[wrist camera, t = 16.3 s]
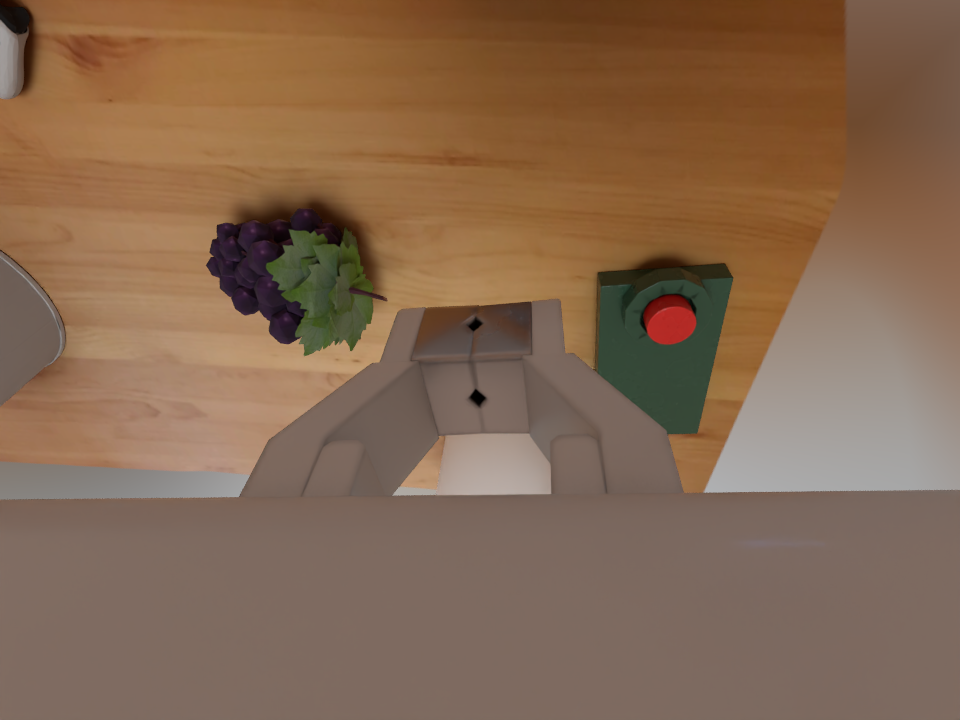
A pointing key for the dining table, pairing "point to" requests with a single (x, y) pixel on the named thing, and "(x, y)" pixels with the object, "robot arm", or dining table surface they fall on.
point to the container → (25, 329)
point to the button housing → (650, 365)
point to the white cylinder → (493, 466)
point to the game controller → (12, 49)
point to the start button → (669, 319)
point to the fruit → (296, 278)
